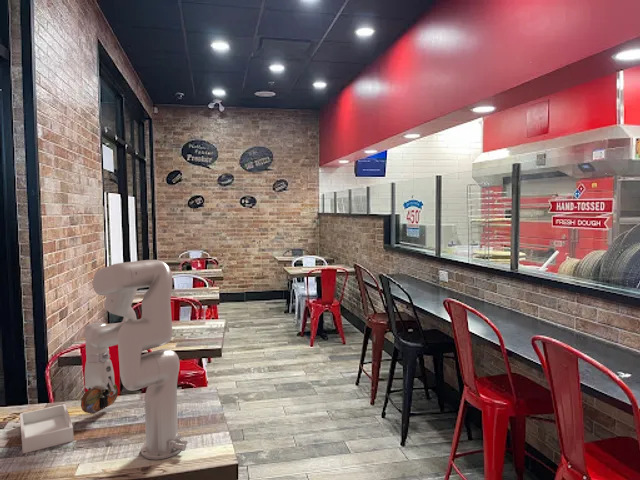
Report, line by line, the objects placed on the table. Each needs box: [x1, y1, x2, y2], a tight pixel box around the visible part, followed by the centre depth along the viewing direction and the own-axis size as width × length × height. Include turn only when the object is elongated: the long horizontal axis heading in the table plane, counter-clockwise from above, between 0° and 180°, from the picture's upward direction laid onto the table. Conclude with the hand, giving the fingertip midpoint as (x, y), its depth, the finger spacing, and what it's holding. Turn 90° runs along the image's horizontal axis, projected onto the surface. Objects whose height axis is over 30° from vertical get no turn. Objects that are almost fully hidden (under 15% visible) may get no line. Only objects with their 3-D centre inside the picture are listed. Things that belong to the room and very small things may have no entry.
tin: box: [80, 383, 119, 415], centre depth 170 cm, size 15×3×8 cm, turn 159°
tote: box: [19, 403, 75, 454], centre depth 157 cm, size 22×14×4 cm, turn 34°
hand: (100, 406), depth 170 cm, fingers closed on tin, 2 cm apart
